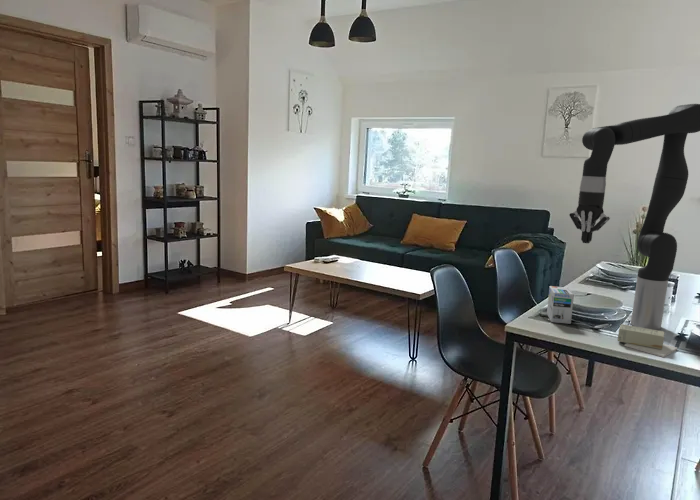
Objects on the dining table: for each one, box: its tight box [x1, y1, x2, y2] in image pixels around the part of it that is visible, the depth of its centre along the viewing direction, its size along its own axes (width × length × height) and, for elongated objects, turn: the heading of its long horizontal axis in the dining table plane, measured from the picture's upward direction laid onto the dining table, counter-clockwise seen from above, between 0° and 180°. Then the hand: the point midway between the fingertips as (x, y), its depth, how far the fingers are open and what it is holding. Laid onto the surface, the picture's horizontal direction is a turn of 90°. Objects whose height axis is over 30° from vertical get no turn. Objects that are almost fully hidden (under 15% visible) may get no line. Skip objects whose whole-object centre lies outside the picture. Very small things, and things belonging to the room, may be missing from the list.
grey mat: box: [624, 343, 678, 358], centre depth 160 cm, size 11×11×1 cm
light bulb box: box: [546, 285, 575, 325], centre depth 185 cm, size 11×7×11 cm, turn 169°
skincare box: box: [617, 323, 666, 350], centre depth 162 cm, size 6×4×12 cm
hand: (585, 242), depth 173 cm, fingers closed
